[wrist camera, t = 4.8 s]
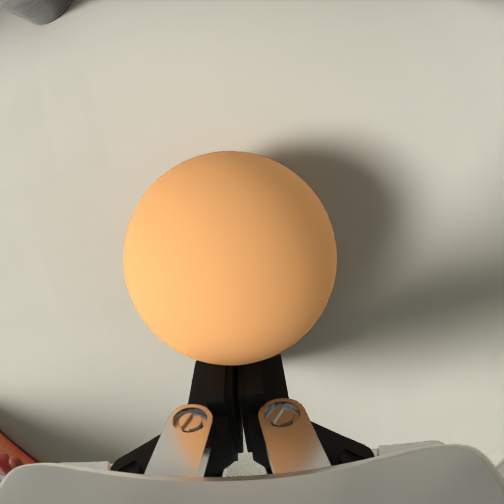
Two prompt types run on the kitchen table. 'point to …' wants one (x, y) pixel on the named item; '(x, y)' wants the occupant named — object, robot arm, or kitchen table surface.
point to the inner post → (36, 9)
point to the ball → (230, 258)
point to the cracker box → (11, 457)
